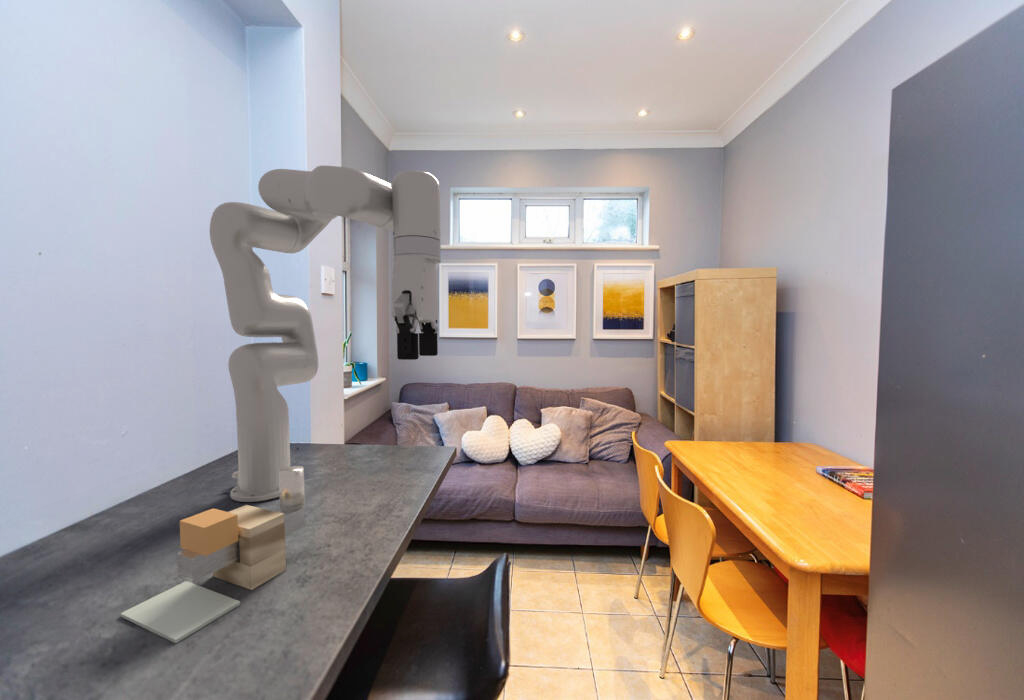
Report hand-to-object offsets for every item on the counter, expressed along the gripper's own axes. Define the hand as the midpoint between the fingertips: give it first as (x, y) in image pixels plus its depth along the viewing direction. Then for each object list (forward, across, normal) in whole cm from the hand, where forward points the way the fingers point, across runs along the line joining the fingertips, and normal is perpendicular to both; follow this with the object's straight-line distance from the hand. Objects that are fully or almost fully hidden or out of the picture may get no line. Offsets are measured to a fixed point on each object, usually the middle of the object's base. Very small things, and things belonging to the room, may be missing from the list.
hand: (419, 357), depth 69 cm
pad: (+29, +22, -22) cm, 43 cm away
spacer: (+23, +19, -21) cm, 37 cm away
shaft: (+26, +14, -20) cm, 35 cm away
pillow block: (+29, +14, -20) cm, 38 cm away
